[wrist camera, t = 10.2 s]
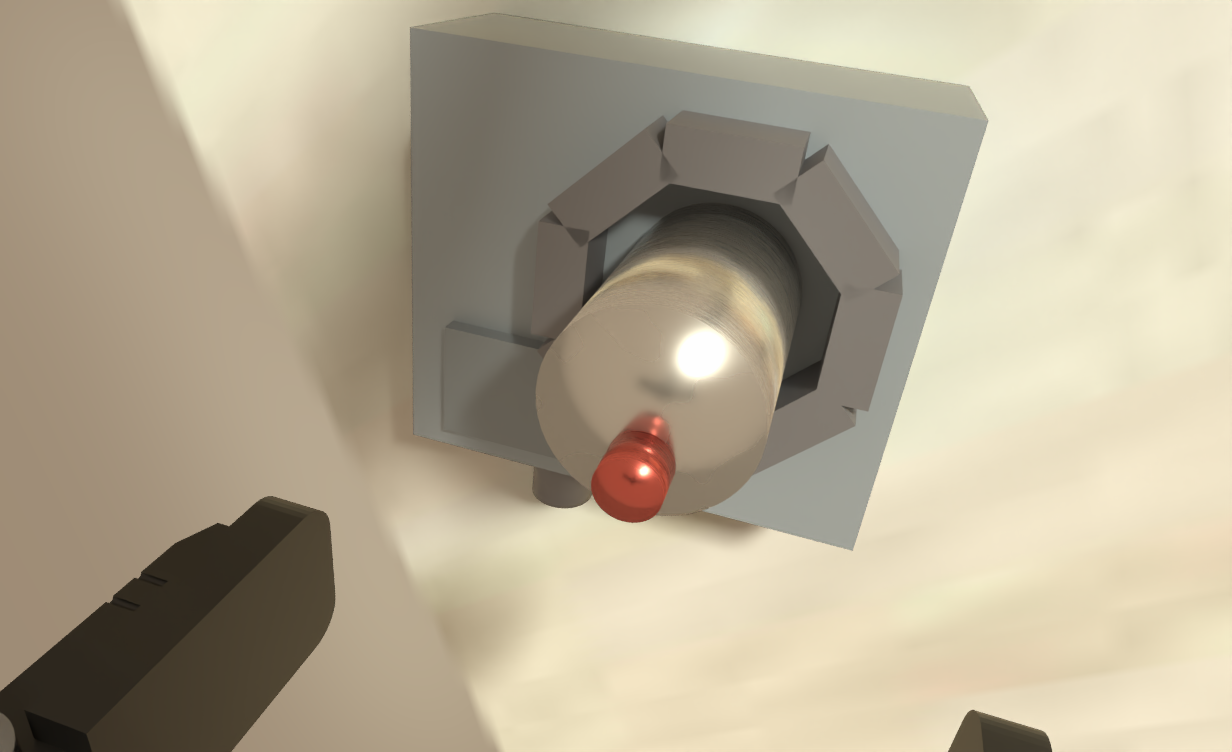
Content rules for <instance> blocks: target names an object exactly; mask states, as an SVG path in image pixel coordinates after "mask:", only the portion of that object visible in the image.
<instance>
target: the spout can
mask: <svg viewBox="0 0 1232 752" xmlns="http://www.w3.org/2000/svg"><path fill="white" fill-rule="evenodd" d="M801 299H802V280H801V273H800V269H799V266H798V262H797V260H796V258H795V255H794V253H793V251H792V249H791V248H790V246H789V244H788V243H787V241H786V240H785V239H784V237H783V236H782V235H781V234H780V233H779V232H778V231H777V230H776V229H775V228H774V227H773V226H772V225H771V224H770V223H768V222H767V221H766V220H764V219H763V218H762V217H760V216H758V215H756V214H754V213H753V212H751V211H748V210H746V209H743V208H741V207H737V206H733V205H729V204H723V203H700V204H693V205H689V206H686V207H682V208H680V209H678V210H675V211H673V212H671V213H669V214H668V215H666V216H664V217H663V218H661V219H660V220H659V221H658V222H656V223H655V224H654V225H653V226H652V227H651V228H650V229H649V230H648V231H647V233H646V234H645V235H644V236H643V237H642V238H641V240H640V241H639V242H638V243H637V244H636V245H635V247H634V248H633V249H632V250H631V251H630V252H629V254H628V255H627V256H626V257H625V258H624V260H623V261H622V262H621V263H620V264H619V265H618V267H617V268H616V269H615V270H614V271H613V272H612V274H611V275H610V276H609V277H608V278H607V280H606V281H605V282H604V283H603V284H602V285H601V287H600V288H599V289H598V290H597V291H596V292H595V294H594V295H593V296H592V297H591V298H590V300H589V301H588V302H587V303H586V304H585V305H584V307H583V308H582V309H581V310H580V311H579V313H578V314H577V315H576V316H575V317H574V318H573V320H572V321H571V322H570V323H569V324H568V325H567V327H566V328H565V329H564V330H563V331H562V333H561V334H560V335H559V336H558V337H557V338H556V340H555V341H554V342H553V344H552V345H551V347H550V348H549V350H548V351H547V353H546V355H545V357H544V359H543V361H542V363H541V366H540V370H539V373H538V377H537V384H536V408H537V415H538V419H539V423H540V426H541V430H542V432H543V434H544V437H545V439H546V441H547V443H548V445H549V447H550V449H551V450H552V452H553V454H554V455H555V457H556V458H557V459H558V461H559V462H560V463H561V465H562V466H563V467H564V468H565V469H566V470H567V471H568V473H569V474H570V475H571V476H572V477H573V478H574V479H576V480H577V481H578V482H579V483H580V484H581V485H582V486H584V487H585V488H587V489H588V490H589V491H591V492H592V494H593V497H594V499H595V501H596V502H597V504H598V505H599V506H600V508H601V509H602V510H603V511H605V512H606V513H607V514H609V515H610V516H612V517H613V518H616V519H618V520H621V521H625V522H631V523H637V522H643V521H646V520H649V519H650V518H652V517H654V516H655V515H661V516H673V515H684V514H691V513H695V512H699V511H702V510H706V509H708V508H711V507H713V506H715V505H718V504H719V503H721V502H723V501H725V500H726V499H728V498H730V497H731V496H732V495H733V494H735V493H736V492H737V491H739V490H740V489H741V488H742V486H743V485H744V484H745V483H746V482H747V481H748V480H749V479H750V477H751V476H752V474H753V473H754V472H755V470H756V468H757V466H758V464H759V462H760V460H761V458H762V455H763V452H764V449H765V445H766V442H767V438H768V434H769V430H770V426H771V422H772V418H773V414H774V410H775V406H776V402H777V398H778V394H779V390H780V386H781V382H782V378H783V374H784V370H785V366H786V362H787V358H788V354H789V350H790V346H791V342H792V338H793V334H794V330H795V326H796V322H797V318H798V314H799V310H800V305H801Z"/></svg>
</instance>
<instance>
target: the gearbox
mask: <svg viewBox="0 0 1232 752" xmlns="http://www.w3.org/2000/svg"><path fill="white" fill-rule="evenodd" d="M410 58H411V187H412V315H413V434H414V435H417V436H421V437H425V438H429V439H432V440H436V441H440V442H444V443H448V444H451V445H455V446H459V447H463V448H466V449H470V450H474V451H478V452H482V453H485V454H489V455H493V456H497V457H500V458H504V459H508V460H512V461H516V462H519V463H523V464H527V465H531V466H534V476H533V493H534V495H535V496H536V498H537V499H538V500H540V501H541V502H543V503H544V504H546V505H549V506H552V507H557V508H573V507H577V506H580V505H582V504H584V503H586V502H587V501H588V500H589V499H590V497H591V495H592V492H591V491H589V490H588V489H587V488H585V487H584V486H582V485H581V484H580V483H579V482H578V481H577V480H576V479H574V478H573V477H572V476H571V475H570V474H569V473H568V471H567V470H566V469H565V468H564V467H563V466H562V465H561V463H560V462H559V461H558V459H557V458H556V457H555V455H554V454H553V452H552V450H551V449H550V447H549V445H548V443H547V441H546V439H545V437H544V434H543V432H542V430H541V426H540V423H539V419H538V415H537V408H536V384H537V377H538V373H539V370H540V366H541V363H542V361H543V359H544V357H545V355H546V353H547V351H548V350H549V348H550V347H551V345H552V344H553V342H554V341H555V340H556V338H557V337H558V336H559V335H560V334H561V333H562V331H563V330H564V329H565V328H566V327H567V325H568V324H569V323H570V322H571V321H572V320H573V318H574V317H575V316H576V315H577V314H578V313H579V311H580V310H581V309H582V308H583V307H584V305H585V304H586V303H587V302H588V301H589V300H590V298H591V297H592V296H593V295H594V294H595V292H596V291H597V290H598V289H599V288H600V287H601V285H602V284H603V283H604V282H605V281H606V280H607V278H608V277H609V276H610V275H611V274H612V272H613V271H614V270H615V269H616V268H617V267H618V265H619V264H620V263H621V262H622V261H623V260H624V258H625V257H626V256H627V255H628V254H629V252H630V251H631V250H632V249H633V248H634V247H635V245H636V244H637V243H638V242H639V241H640V240H641V238H642V237H643V236H644V235H645V234H646V233H647V231H648V230H649V229H650V228H651V227H652V226H653V225H654V224H655V223H656V222H658V221H659V220H660V219H661V218H663V217H664V216H666V215H668V214H669V213H671V212H673V211H675V210H678V209H680V208H682V207H686V206H689V205H693V204H700V203H723V204H729V205H733V206H737V207H741V208H743V209H746V210H748V211H751V212H753V213H754V214H756V215H758V216H760V217H762V218H763V219H764V220H766V221H767V222H768V223H770V224H771V225H772V226H773V227H774V228H775V229H776V230H777V231H778V232H779V233H780V234H781V235H782V236H783V237H784V239H785V240H786V241H787V243H788V244H789V246H790V248H791V249H792V251H793V253H794V255H795V258H796V260H797V262H798V266H799V269H800V273H801V280H802V299H801V305H800V310H799V314H798V318H797V322H796V326H795V330H794V334H793V338H792V342H791V346H790V350H789V354H788V358H787V362H786V366H785V370H784V374H783V378H782V382H781V386H780V390H779V394H778V398H777V402H776V406H775V410H774V414H773V418H772V422H771V426H770V430H769V434H768V438H767V442H766V445H765V449H764V452H763V455H762V458H761V460H760V462H759V464H758V466H757V468H756V470H755V472H754V473H753V474H752V476H751V477H750V479H749V480H748V481H747V482H746V483H745V484H744V485H743V486H742V488H741V489H740V490H739V491H737V492H736V493H735V494H733V495H732V496H731V497H730V498H728V499H726V500H725V501H723V502H721V503H719V504H718V505H715V506H713V507H711V508H708V509H706V510H702V511H705V512H708V513H712V514H716V515H720V516H723V517H727V518H731V519H735V520H739V521H742V522H746V523H750V524H754V525H757V526H761V527H765V528H769V529H773V530H776V531H780V532H784V533H788V534H791V535H795V536H799V537H803V538H807V539H810V540H814V541H818V542H822V543H826V544H829V545H833V546H837V547H841V548H844V549H848V550H852V551H853V548H854V545H855V542H856V538H857V535H858V532H859V529H860V526H861V523H862V519H863V516H864V513H865V510H866V507H867V504H868V500H869V497H870V494H871V491H872V488H873V485H874V481H875V478H876V475H877V472H878V469H879V466H880V462H881V459H882V456H883V453H884V450H885V447H886V443H887V440H888V437H889V434H890V431H891V428H892V424H893V421H894V418H895V415H896V412H897V409H898V405H899V402H900V399H901V396H902V393H903V390H904V386H905V383H906V380H907V377H908V374H909V371H910V367H911V364H912V361H913V358H914V355H915V352H916V348H917V345H918V342H919V339H920V336H921V333H922V329H923V326H924V323H925V320H926V317H927V314H928V310H929V307H930V304H931V301H932V298H933V295H934V291H935V288H936V285H937V282H938V279H939V276H940V272H941V269H942V266H943V263H944V260H945V256H946V253H947V250H948V247H949V244H950V241H951V237H952V234H953V231H954V228H955V225H956V222H957V218H958V215H959V212H960V209H961V206H962V203H963V199H964V196H965V193H966V190H967V187H968V184H969V180H970V177H971V174H972V171H973V168H974V165H975V161H976V158H977V155H978V152H979V149H980V146H981V142H982V139H983V136H984V133H985V130H986V127H987V123H988V119H987V117H986V115H985V113H984V112H983V110H982V108H981V106H980V105H979V103H978V101H977V99H976V97H975V96H974V94H973V92H972V90H971V88H970V87H969V86H964V85H958V84H951V83H945V82H938V81H932V80H925V79H919V78H912V77H906V76H899V75H893V74H886V73H880V72H874V71H867V70H861V69H854V68H848V67H841V66H835V65H828V64H822V63H815V62H809V61H802V60H796V59H789V58H783V57H776V56H770V55H763V54H757V53H750V52H744V51H737V50H731V49H724V48H718V47H711V46H705V45H698V44H692V43H685V42H679V41H672V40H666V39H660V38H653V37H647V36H640V35H634V34H627V33H621V32H614V31H608V30H601V29H595V28H588V27H582V26H575V25H569V24H562V23H556V22H549V21H543V20H536V19H530V18H523V17H517V16H510V15H504V14H497V13H491V14H485V15H479V16H474V17H468V18H462V19H456V20H450V21H444V22H438V23H433V24H427V25H421V26H415V27H410Z"/></svg>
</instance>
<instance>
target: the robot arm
mask: <svg viewBox="0 0 1232 752" xmlns="http://www.w3.org/2000/svg"><path fill="white" fill-rule="evenodd" d="M334 606H335V585H334V572H333V558H332V544H331V531H330V522H329V518H328V516H327V515H326V513H324V512H323V511H320V510H316V509H313V508H310V507H306V506H303V505H300V504H296V503H293V502H290V501H287V500H283V499H280V498H277V497H273V496H268V497H264V498H263V499H261V500H259V501H258V502H256V503H255V504H254V505H253V506H252V507H251V508H249V509H248V510H247V511H246V512H245V513H244V514H243V515H242V516H240V518H238V519H237V520H236V521H235V522H234V523H233V524H232V525H230V526H226V525H223V524H219V523H217V524H215V525H213V526H211V527H209V528H207V529H204V530H202V531H200V532H198V533H196V534H194V535H192V536H190V537H188V538H185V539H183V540H181V541H179V542H177V543H175V544H174V545H173V546H171V547H170V548H169V549H168V550H167V551H166V552H164V553H163V554H162V555H161V556H160V557H158V558H157V559H156V560H155V561H154V562H153V563H151V564H150V565H149V566H148V567H147V568H145V569H144V570H143V571H142V572H141V576H140V577H139V578H138V579H137V578H134V579H133V580H131V581H130V582H129V583H128V584H127V585H126V586H124V587H123V588H122V589H121V590H120V591H118V592H117V593H116V594H115V595H114V596H113V600H112V601H111V602H110V603H107V602H105V603H104V604H103V605H102V606H101V607H99V608H98V609H97V610H96V611H95V612H94V613H92V614H91V615H90V616H89V617H88V618H87V619H85V620H84V621H83V622H82V623H81V624H79V625H78V626H77V627H76V628H75V629H74V630H72V631H71V632H70V633H69V634H68V635H66V636H65V637H64V638H63V639H62V640H61V641H60V642H58V643H57V644H56V645H55V646H54V647H52V648H51V649H50V650H49V651H48V652H46V653H45V654H44V655H43V656H42V657H41V658H39V659H38V660H37V661H36V662H35V663H33V664H32V665H31V666H30V667H29V668H28V669H27V670H25V671H24V672H23V673H22V674H20V675H19V676H18V677H17V678H16V679H15V680H13V681H12V682H11V683H10V684H9V685H7V686H6V687H5V688H4V689H3V690H2V691H0V752H231V751H232V750H233V749H234V747H235V746H236V745H237V744H238V743H239V741H240V740H241V739H242V738H243V736H244V735H245V734H246V733H247V731H248V730H249V729H250V728H251V726H252V725H253V724H254V723H255V722H256V720H257V719H258V718H259V717H260V715H261V714H262V713H263V712H264V710H265V709H266V708H267V707H268V706H269V704H270V703H271V702H272V701H273V699H274V698H275V697H276V696H277V695H278V693H279V692H280V691H281V689H282V688H283V687H284V686H285V684H286V683H287V682H288V681H289V680H290V678H291V677H292V676H293V675H294V674H295V672H296V671H297V670H298V668H299V667H300V666H301V665H302V664H303V662H304V661H305V660H306V659H307V658H308V656H309V655H310V654H311V653H312V651H313V650H314V649H315V648H316V646H317V645H318V644H319V642H320V641H321V639H322V638H323V636H324V634H325V632H326V630H327V628H328V625H329V623H330V621H331V618H332V614H333V611H334ZM948 752H1052V748H1051V744H1050V741H1049V738H1048V736H1047V735H1046V733H1045V732H1043V731H1041V730H1038V729H1034V728H1031V727H1028V726H1025V725H1021V724H1018V723H1015V722H1011V721H1008V720H1005V719H1001V718H998V717H995V716H991V715H988V714H985V713H981V712H978V711H975V710H971V711H969V712H968V713H967V715H966V716H965V718H964V720H963V721H962V724H961V726H960V728H959V730H958V732H957V734H956V736H955V738H954V740H953V743H952V745H951V747H950V749H949V751H948Z"/></svg>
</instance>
